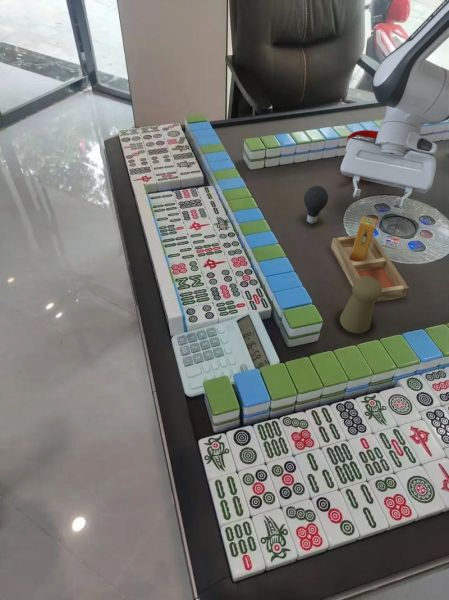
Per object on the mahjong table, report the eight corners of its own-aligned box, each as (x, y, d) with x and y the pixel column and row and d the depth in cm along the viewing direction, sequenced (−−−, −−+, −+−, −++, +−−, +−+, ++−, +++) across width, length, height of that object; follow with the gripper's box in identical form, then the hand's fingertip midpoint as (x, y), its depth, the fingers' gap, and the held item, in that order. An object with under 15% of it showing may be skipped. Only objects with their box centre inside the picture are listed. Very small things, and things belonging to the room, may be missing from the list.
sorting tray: (368, 242, 102) (371, 232, 100) (404, 297, 90) (409, 287, 88) (330, 247, 101) (332, 237, 98) (362, 304, 89) (365, 294, 86)
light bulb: (326, 220, 107) (334, 186, 100) (316, 232, 104) (323, 197, 97) (306, 213, 110) (312, 178, 102) (295, 224, 106) (301, 189, 99)
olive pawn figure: (336, 310, 87) (348, 271, 79) (365, 309, 88) (380, 270, 80) (344, 334, 83) (357, 295, 75) (374, 332, 84) (391, 294, 76)
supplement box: (366, 254, 98) (378, 218, 91) (363, 263, 96) (375, 228, 89) (352, 250, 99) (363, 214, 92) (348, 259, 97) (359, 223, 90)
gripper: (349, 128, 97) (331, 188, 98) (445, 147, 91) (424, 210, 93) (349, 138, 103) (332, 195, 104) (439, 156, 97) (419, 215, 99)
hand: (376, 202), depth 98 cm, fingers open, 8 cm apart
